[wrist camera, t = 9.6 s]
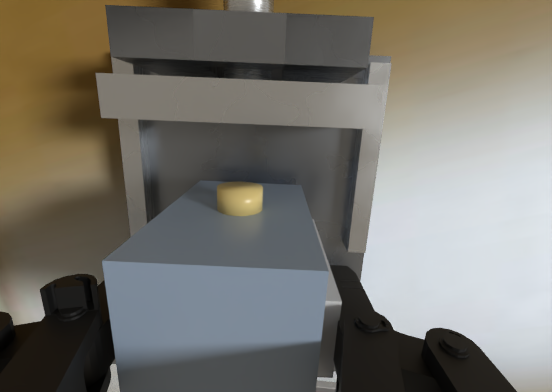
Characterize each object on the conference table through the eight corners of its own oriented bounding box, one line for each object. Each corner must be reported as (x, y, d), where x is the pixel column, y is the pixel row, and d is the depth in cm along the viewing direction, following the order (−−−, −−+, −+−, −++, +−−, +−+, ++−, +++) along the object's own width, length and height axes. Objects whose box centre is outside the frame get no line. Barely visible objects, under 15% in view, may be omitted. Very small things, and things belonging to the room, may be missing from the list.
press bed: (149, 289, 19) (86, 373, 13) (127, 49, 15) (19, 1, 9) (351, 297, 19) (388, 384, 13) (382, 61, 15) (457, 20, 9)
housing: (203, 286, 15) (128, 454, 8) (200, 164, 14) (96, 226, 6) (293, 290, 16) (308, 461, 8) (302, 169, 14) (332, 237, 6)
